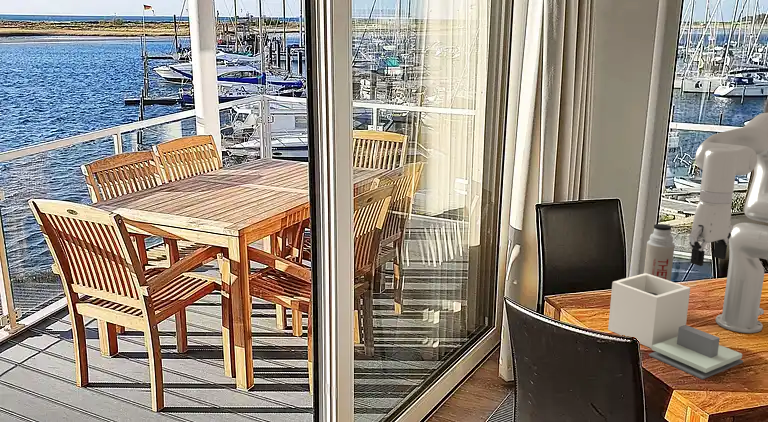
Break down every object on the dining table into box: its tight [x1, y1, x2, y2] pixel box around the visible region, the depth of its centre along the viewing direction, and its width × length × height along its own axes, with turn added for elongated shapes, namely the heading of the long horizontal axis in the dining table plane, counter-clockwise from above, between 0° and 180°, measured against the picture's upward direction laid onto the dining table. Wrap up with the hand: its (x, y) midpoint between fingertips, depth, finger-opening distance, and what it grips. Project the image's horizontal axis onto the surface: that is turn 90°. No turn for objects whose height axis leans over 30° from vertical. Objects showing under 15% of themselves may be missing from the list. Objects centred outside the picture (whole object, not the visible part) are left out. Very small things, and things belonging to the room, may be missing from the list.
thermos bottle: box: [643, 223, 676, 282], centre depth 215 cm, size 8×8×28 cm
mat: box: [648, 351, 744, 380], centre depth 185 cm, size 18×16×1 cm
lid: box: [651, 324, 743, 373], centre depth 184 cm, size 16×16×7 cm
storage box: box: [607, 272, 691, 349], centre depth 199 cm, size 15×15×15 cm
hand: (708, 261), depth 178 cm, fingers open, 9 cm apart
